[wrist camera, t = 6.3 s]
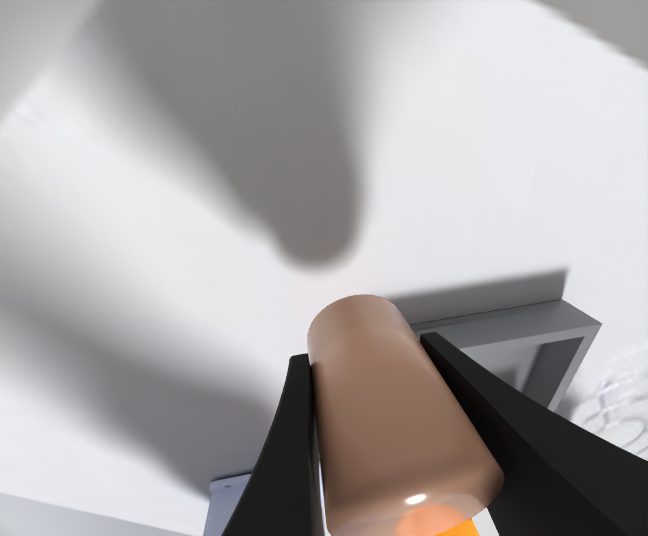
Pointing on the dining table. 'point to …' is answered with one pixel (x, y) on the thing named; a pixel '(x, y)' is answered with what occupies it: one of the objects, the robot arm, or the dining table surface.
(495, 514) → the robot arm
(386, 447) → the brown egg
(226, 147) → the dining table surface
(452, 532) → the orange juice
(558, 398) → the tray
